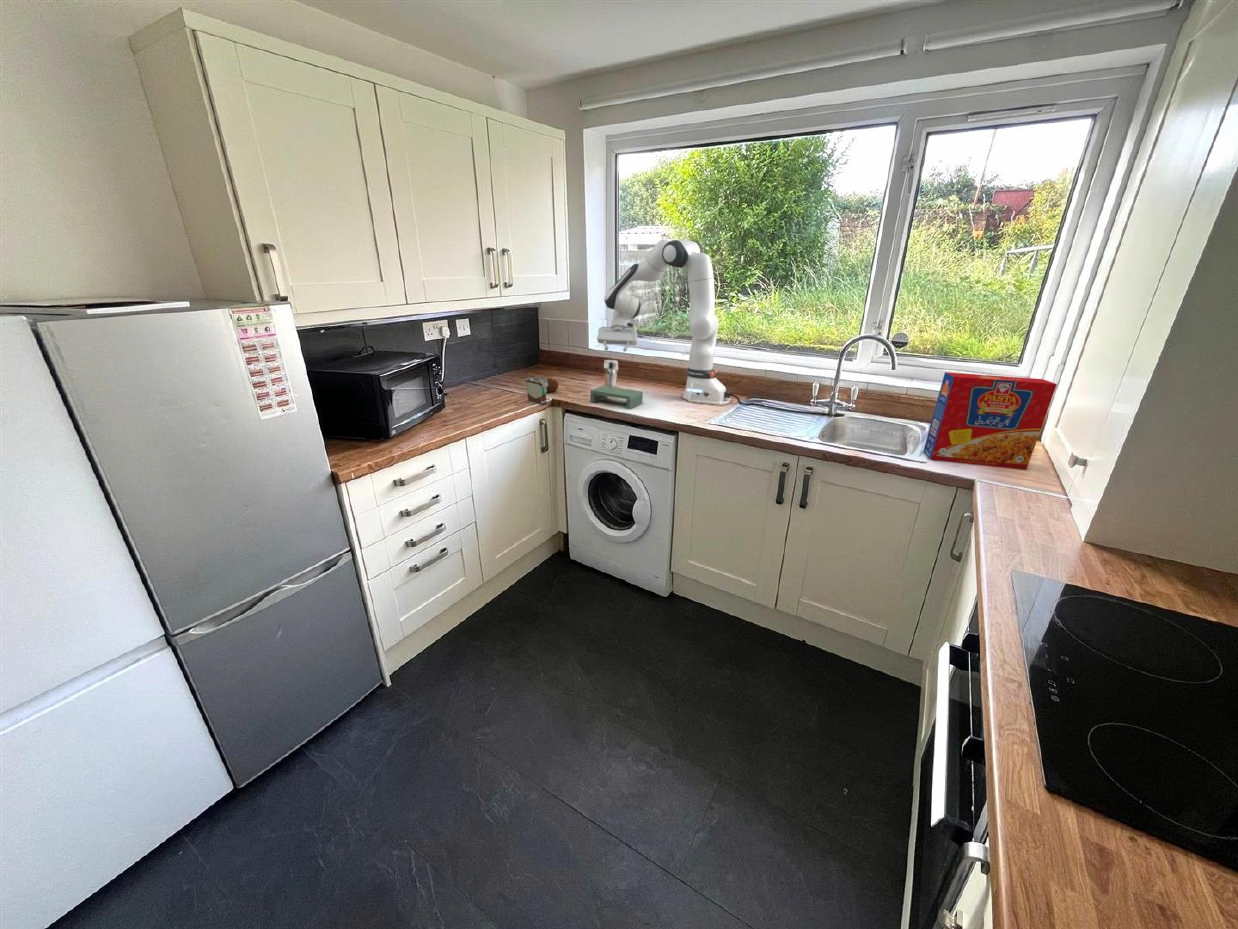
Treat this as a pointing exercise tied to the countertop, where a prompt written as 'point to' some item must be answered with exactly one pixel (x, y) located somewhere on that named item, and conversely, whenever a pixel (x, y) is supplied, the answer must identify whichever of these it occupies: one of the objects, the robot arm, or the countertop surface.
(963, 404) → the pasta box
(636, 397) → the shelf
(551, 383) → the potato
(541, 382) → the food container
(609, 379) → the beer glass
